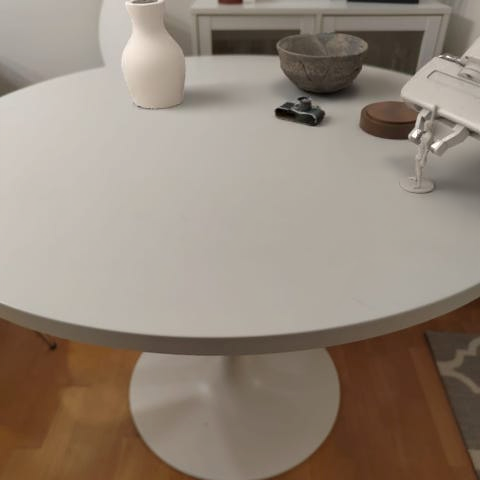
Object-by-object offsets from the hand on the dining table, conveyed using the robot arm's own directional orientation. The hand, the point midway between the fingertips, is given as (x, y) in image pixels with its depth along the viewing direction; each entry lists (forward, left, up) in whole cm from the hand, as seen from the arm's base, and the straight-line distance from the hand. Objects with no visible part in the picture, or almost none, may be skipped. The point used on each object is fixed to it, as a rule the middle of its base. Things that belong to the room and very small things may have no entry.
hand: (423, 146), depth 69 cm
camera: (+14, -30, -7) cm, 34 cm away
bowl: (+7, -48, -7) cm, 49 cm away
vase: (+45, -45, -7) cm, 64 cm away
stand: (-4, -24, -7) cm, 25 cm away
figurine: (-1, 0, -7) cm, 7 cm away
